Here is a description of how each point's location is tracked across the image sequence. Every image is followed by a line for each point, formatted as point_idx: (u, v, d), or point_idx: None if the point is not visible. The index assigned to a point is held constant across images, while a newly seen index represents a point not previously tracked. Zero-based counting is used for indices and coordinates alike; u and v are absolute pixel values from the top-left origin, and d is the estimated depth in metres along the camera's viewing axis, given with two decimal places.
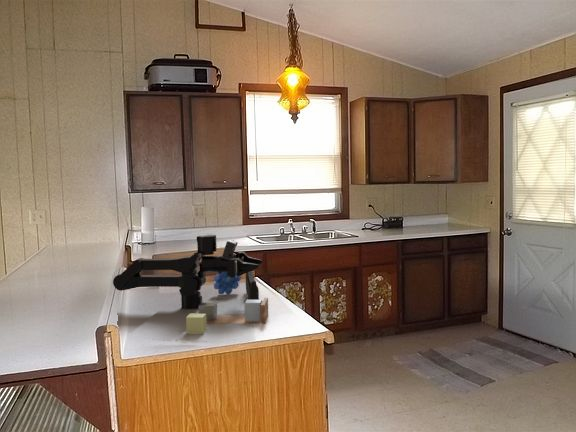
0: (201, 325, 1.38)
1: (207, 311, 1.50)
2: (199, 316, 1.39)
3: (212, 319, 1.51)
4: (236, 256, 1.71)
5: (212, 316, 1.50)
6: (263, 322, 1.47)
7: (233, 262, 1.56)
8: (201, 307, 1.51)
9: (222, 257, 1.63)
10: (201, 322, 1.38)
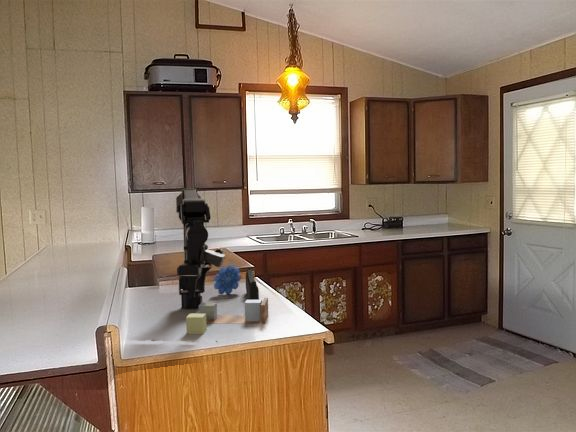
0: (201, 325, 1.38)
1: (207, 311, 1.50)
2: (199, 316, 1.39)
3: (212, 319, 1.51)
4: None
5: (212, 316, 1.50)
6: (263, 322, 1.47)
7: (194, 273, 1.30)
8: (201, 307, 1.51)
9: (202, 251, 1.36)
10: (201, 322, 1.38)
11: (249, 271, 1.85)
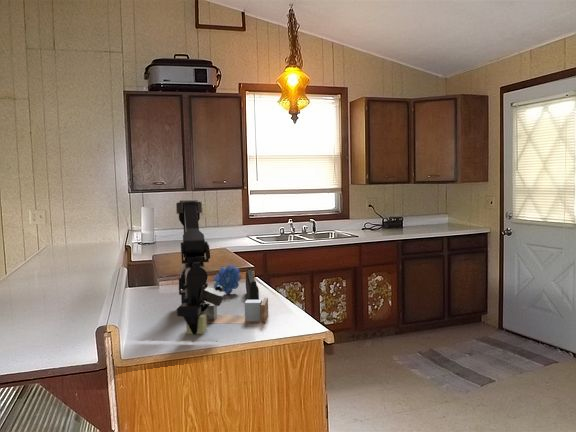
0: (201, 325, 1.38)
1: (207, 311, 1.50)
2: (199, 316, 1.39)
3: (212, 319, 1.51)
4: None
5: (212, 316, 1.50)
6: (263, 322, 1.47)
7: (194, 315, 1.30)
8: None
9: (202, 290, 1.37)
10: (201, 322, 1.38)
11: (249, 271, 1.85)
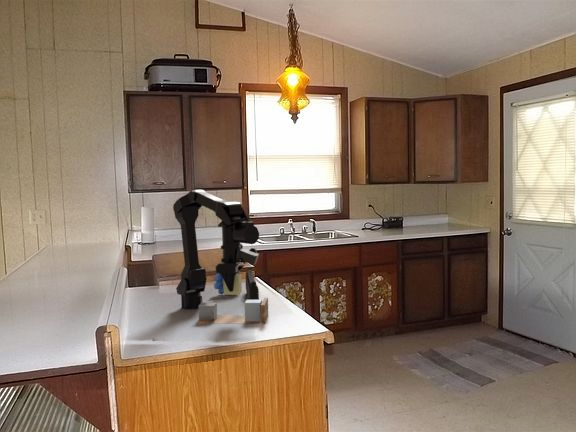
0: (237, 283, 1.48)
1: (207, 311, 1.50)
2: (235, 275, 1.49)
3: (212, 319, 1.51)
4: None
5: (212, 316, 1.50)
6: (263, 322, 1.47)
7: (232, 271, 1.40)
8: (201, 307, 1.51)
9: (238, 251, 1.47)
10: (237, 280, 1.48)
11: (249, 271, 1.85)
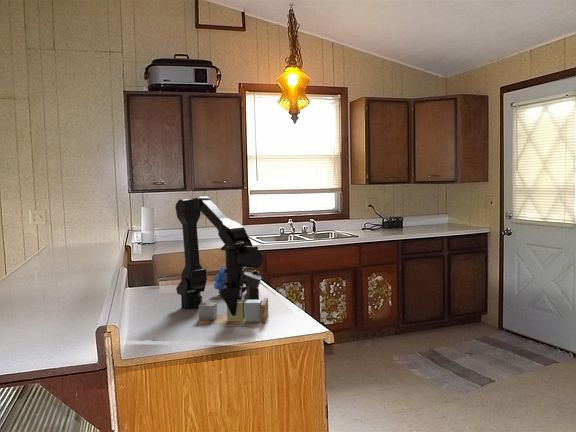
0: (241, 310, 1.50)
1: (207, 311, 1.50)
2: (238, 302, 1.50)
3: (212, 319, 1.51)
4: None
5: (212, 316, 1.50)
6: (263, 322, 1.47)
7: (236, 296, 1.42)
8: (201, 307, 1.51)
9: (241, 274, 1.48)
10: (241, 307, 1.50)
11: (249, 271, 1.85)
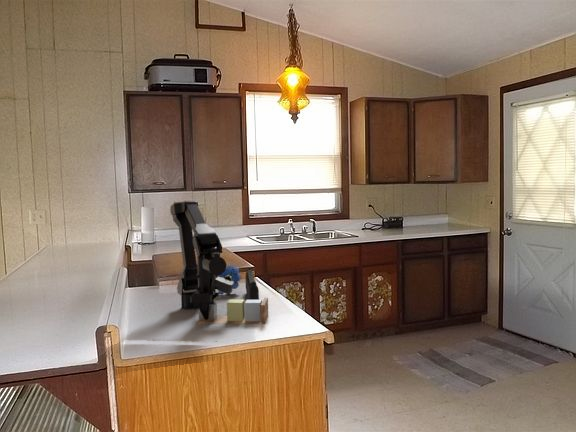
0: (241, 310, 1.50)
1: None
2: (238, 302, 1.50)
3: (212, 319, 1.51)
4: None
5: (212, 316, 1.50)
6: (263, 322, 1.47)
7: (206, 301, 1.43)
8: None
9: (213, 280, 1.49)
10: (241, 307, 1.50)
11: (249, 271, 1.85)
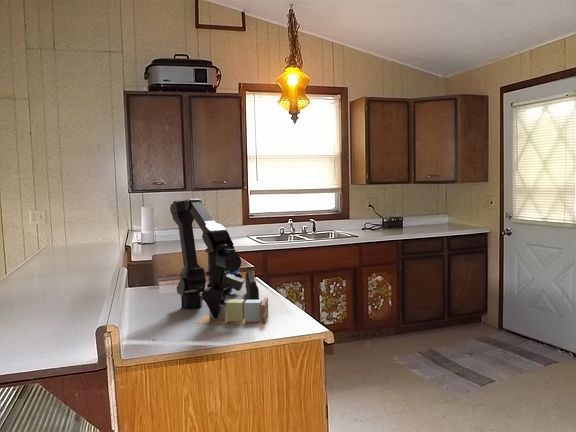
0: (241, 310, 1.50)
1: None
2: (238, 302, 1.50)
3: (223, 319, 1.50)
4: None
5: (223, 316, 1.50)
6: (263, 322, 1.47)
7: (217, 298, 1.42)
8: None
9: (224, 276, 1.49)
10: (241, 307, 1.50)
11: (249, 271, 1.85)
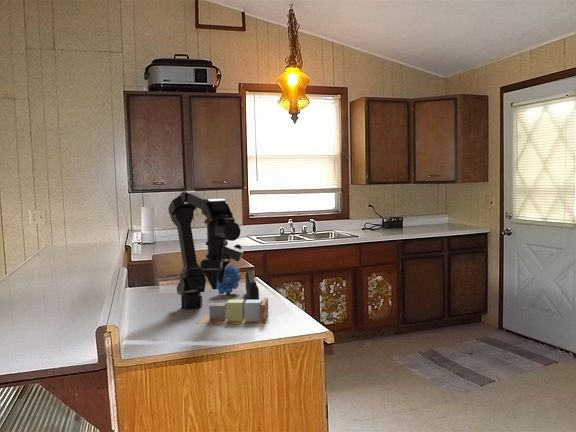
0: (241, 310, 1.50)
1: (217, 311, 1.50)
2: (238, 302, 1.50)
3: (223, 319, 1.50)
4: None
5: (223, 316, 1.50)
6: (263, 322, 1.47)
7: (217, 267, 1.42)
8: (212, 307, 1.50)
9: (223, 247, 1.48)
10: (241, 307, 1.50)
11: (249, 271, 1.85)
